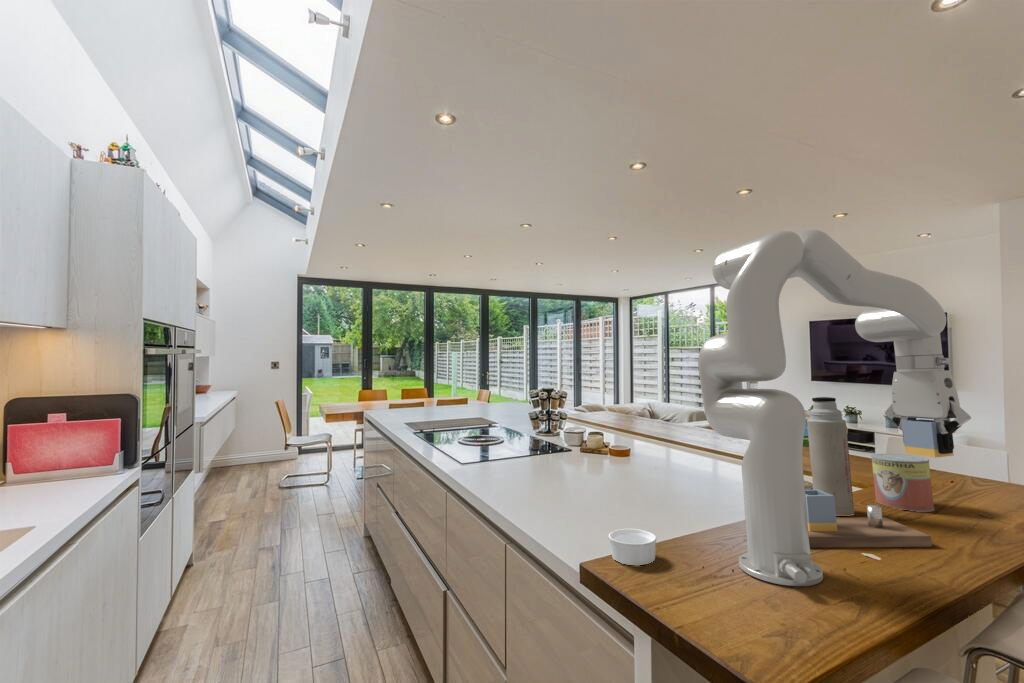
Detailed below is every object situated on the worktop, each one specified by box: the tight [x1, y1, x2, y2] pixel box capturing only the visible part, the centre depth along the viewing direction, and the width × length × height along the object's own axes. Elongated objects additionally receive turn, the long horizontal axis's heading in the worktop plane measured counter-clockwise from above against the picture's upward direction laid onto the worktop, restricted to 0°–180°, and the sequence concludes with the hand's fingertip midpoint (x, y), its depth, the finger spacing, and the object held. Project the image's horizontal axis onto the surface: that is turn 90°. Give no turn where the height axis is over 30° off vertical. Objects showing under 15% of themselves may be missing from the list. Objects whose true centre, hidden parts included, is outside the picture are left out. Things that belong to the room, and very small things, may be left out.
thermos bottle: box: [806, 396, 855, 515], centre depth 111 cm, size 8×8×28 cm
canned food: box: [870, 453, 936, 513], centre depth 114 cm, size 11×11×12 cm
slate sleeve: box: [902, 418, 954, 459], centre depth 94 cm, size 5×5×7 cm
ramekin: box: [608, 528, 657, 566], centre depth 86 cm, size 9×9×4 cm
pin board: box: [808, 504, 933, 548], centre depth 94 cm, size 12×24×6 cm, turn 86°
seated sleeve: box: [805, 489, 837, 531], centre depth 95 cm, size 5×5×7 cm
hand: (928, 450), depth 94 cm, fingers closed on slate sleeve, 5 cm apart
